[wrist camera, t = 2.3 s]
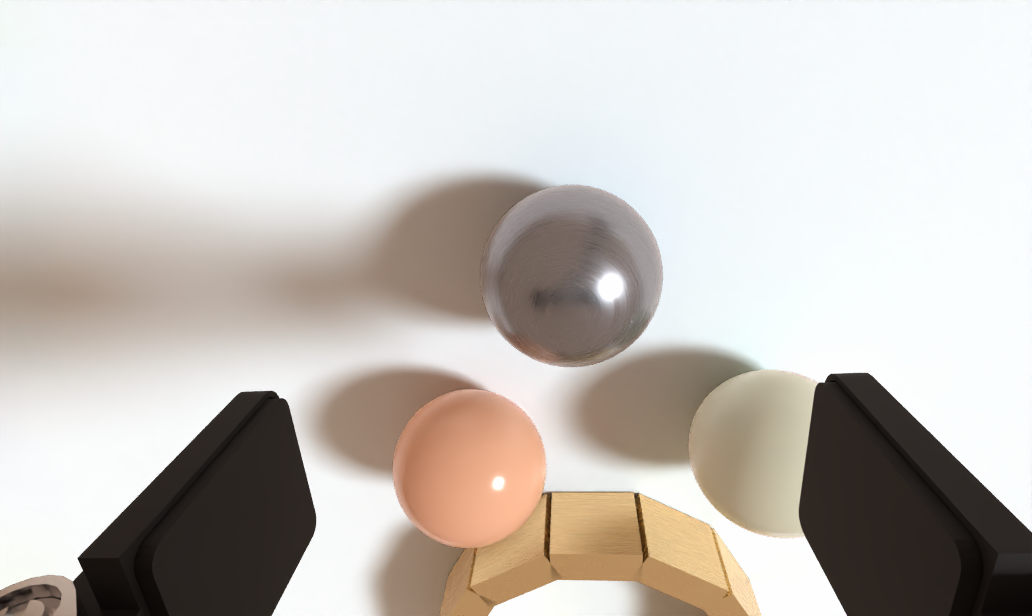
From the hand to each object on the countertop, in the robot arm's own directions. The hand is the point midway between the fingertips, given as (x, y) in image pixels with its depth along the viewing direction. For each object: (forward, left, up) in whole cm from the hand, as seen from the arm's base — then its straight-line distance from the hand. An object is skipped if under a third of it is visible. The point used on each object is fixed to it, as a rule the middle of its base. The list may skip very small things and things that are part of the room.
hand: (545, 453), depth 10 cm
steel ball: (-1, 0, -7) cm, 7 cm away
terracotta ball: (+6, -3, -7) cm, 9 cm away
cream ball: (+5, +7, -7) cm, 11 cm away
